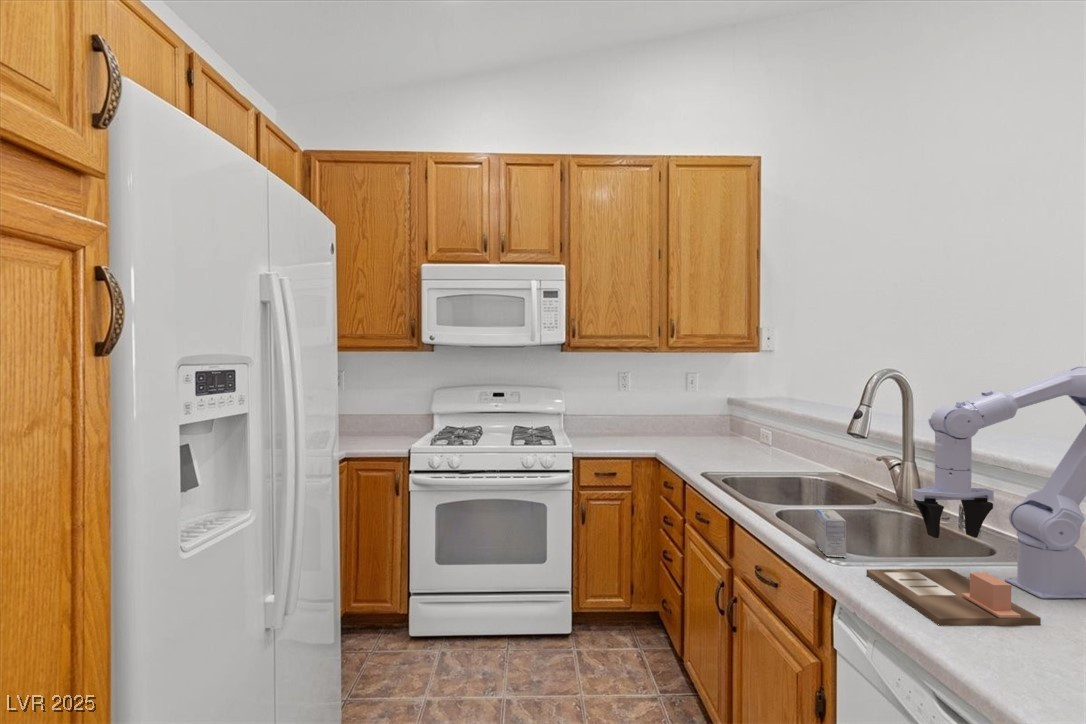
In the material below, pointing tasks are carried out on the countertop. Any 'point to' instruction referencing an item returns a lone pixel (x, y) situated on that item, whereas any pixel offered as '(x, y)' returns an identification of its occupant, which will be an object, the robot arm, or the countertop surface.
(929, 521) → the robot arm
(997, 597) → the salmon block with base
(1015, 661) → the countertop surface
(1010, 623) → the ticket board
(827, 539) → the medicine box
